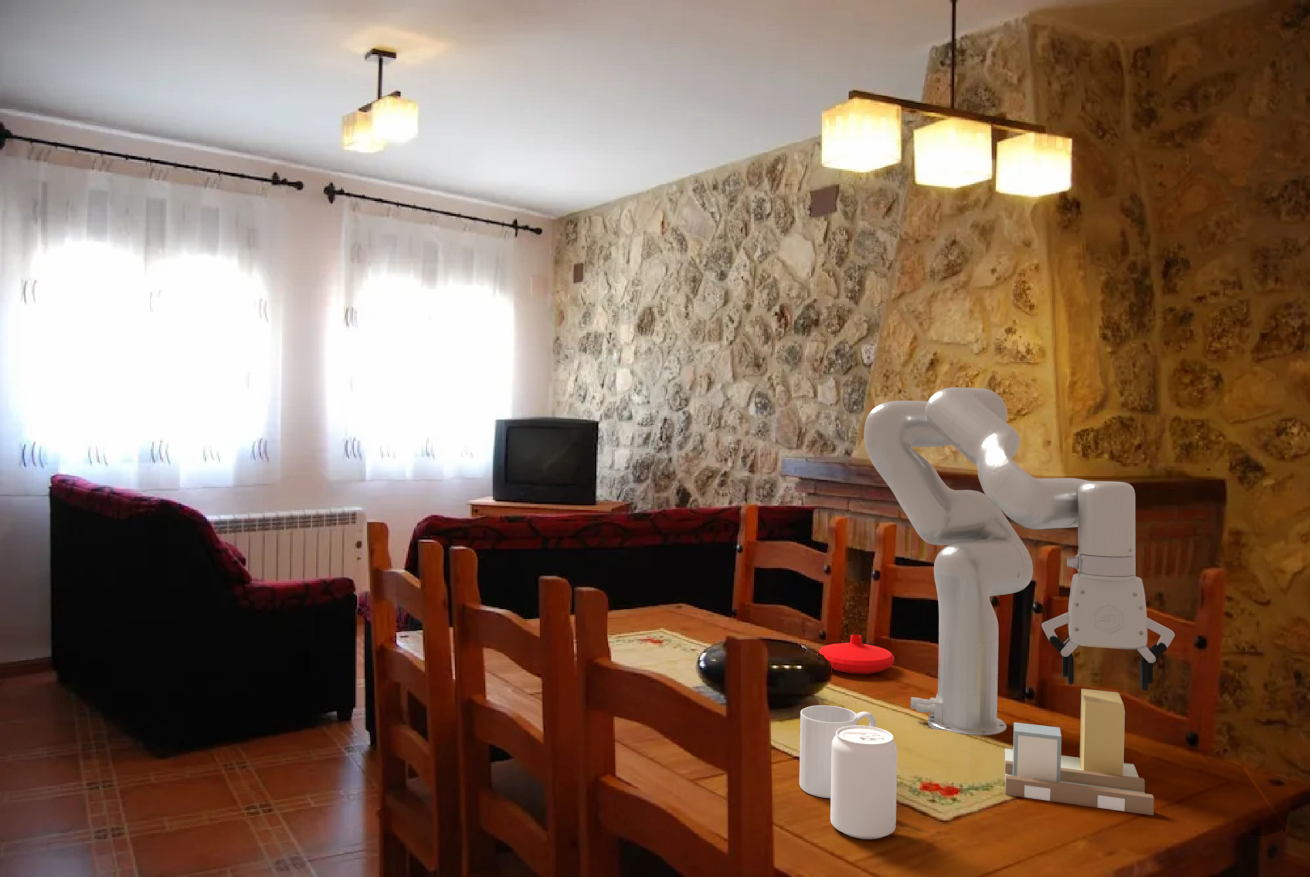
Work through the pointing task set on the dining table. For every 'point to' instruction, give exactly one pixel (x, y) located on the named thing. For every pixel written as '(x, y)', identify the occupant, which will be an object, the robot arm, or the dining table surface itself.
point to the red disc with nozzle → (857, 656)
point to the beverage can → (863, 782)
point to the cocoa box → (1037, 752)
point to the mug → (822, 744)
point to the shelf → (1084, 787)
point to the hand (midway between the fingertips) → (1106, 685)
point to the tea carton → (1102, 732)
